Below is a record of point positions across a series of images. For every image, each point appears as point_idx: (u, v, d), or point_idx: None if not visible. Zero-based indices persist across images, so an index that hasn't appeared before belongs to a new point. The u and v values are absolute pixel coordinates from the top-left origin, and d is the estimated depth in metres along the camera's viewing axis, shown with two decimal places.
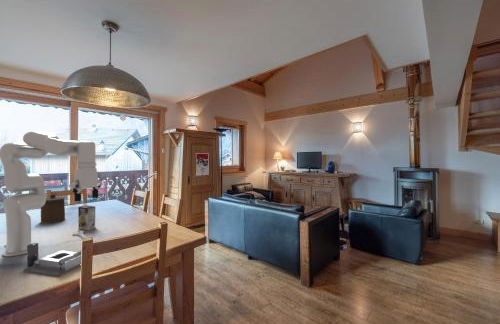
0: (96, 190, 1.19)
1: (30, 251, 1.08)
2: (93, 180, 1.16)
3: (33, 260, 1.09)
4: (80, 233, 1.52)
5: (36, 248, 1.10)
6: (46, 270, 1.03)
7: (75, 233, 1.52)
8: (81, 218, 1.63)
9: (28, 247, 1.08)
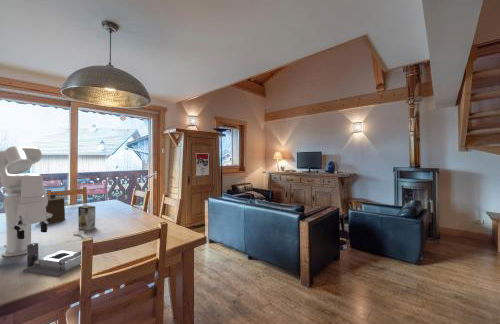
0: (44, 224, 1.14)
1: (30, 251, 1.08)
2: (40, 214, 1.10)
3: (33, 260, 1.09)
4: (81, 233, 1.52)
5: (36, 248, 1.10)
6: (46, 270, 1.03)
7: (76, 233, 1.52)
8: (81, 218, 1.63)
9: (28, 247, 1.08)
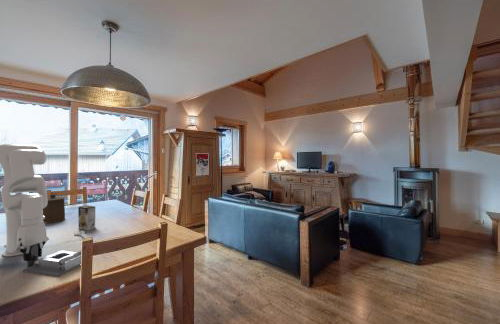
0: (39, 248, 1.12)
1: (30, 251, 1.08)
2: (40, 235, 1.11)
3: (33, 260, 1.09)
4: (81, 233, 1.52)
5: (36, 248, 1.10)
6: (46, 270, 1.03)
7: (76, 233, 1.52)
8: (81, 218, 1.63)
9: None
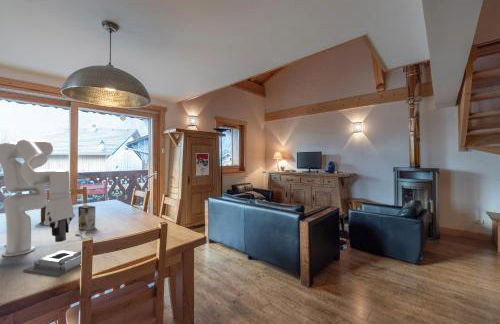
0: (66, 224, 1.11)
1: (58, 225, 1.07)
2: (67, 211, 1.10)
3: (61, 235, 1.07)
4: (82, 233, 1.52)
5: (64, 223, 1.09)
6: (46, 270, 1.03)
7: (78, 233, 1.52)
8: (81, 218, 1.63)
9: None
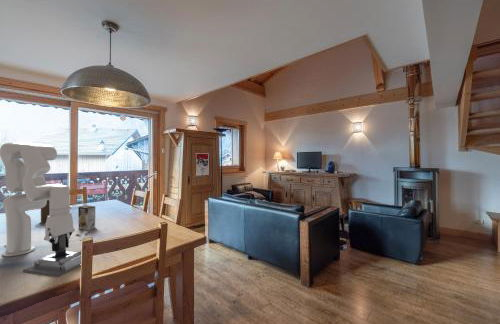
0: (66, 239, 1.11)
1: (58, 241, 1.07)
2: (67, 226, 1.10)
3: (61, 251, 1.08)
4: (82, 233, 1.52)
5: (64, 238, 1.09)
6: (46, 270, 1.03)
7: (78, 233, 1.52)
8: (81, 218, 1.63)
9: None
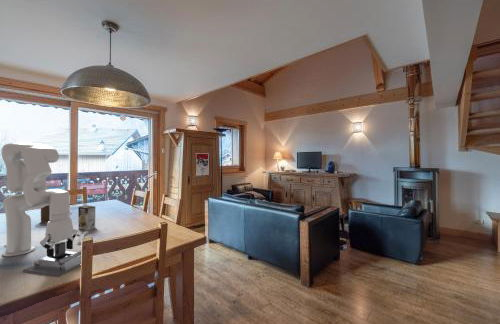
0: (70, 241, 1.13)
1: (58, 249, 1.07)
2: (67, 231, 1.10)
3: None
4: (83, 233, 1.52)
5: (63, 247, 1.09)
6: (46, 270, 1.03)
7: (79, 233, 1.52)
8: (81, 218, 1.63)
9: (56, 246, 1.07)
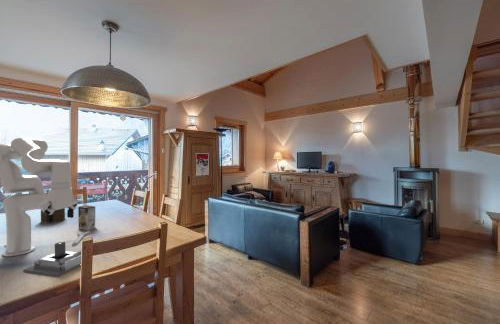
0: (71, 210, 1.17)
1: (58, 249, 1.07)
2: (67, 200, 1.14)
3: None
4: (83, 234, 1.51)
5: (63, 247, 1.09)
6: (46, 270, 1.03)
7: (80, 233, 1.52)
8: (81, 218, 1.63)
9: (56, 246, 1.07)
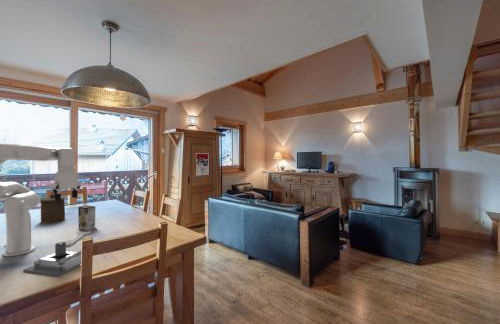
0: (75, 191, 1.34)
1: (59, 249, 1.07)
2: (72, 182, 1.31)
3: None
4: (83, 234, 1.51)
5: (64, 247, 1.09)
6: (46, 270, 1.03)
7: (80, 233, 1.52)
8: (81, 218, 1.63)
9: (57, 246, 1.07)
